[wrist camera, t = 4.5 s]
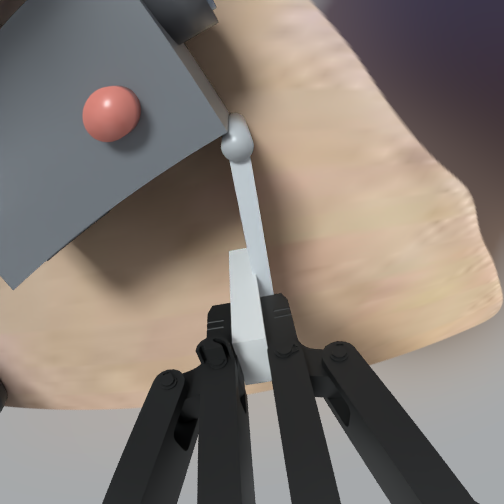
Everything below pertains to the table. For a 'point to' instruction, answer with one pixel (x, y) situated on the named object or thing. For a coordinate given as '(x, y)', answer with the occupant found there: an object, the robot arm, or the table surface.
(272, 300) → the robot arm
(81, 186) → the camera body
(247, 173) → the door
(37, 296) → the table surface
